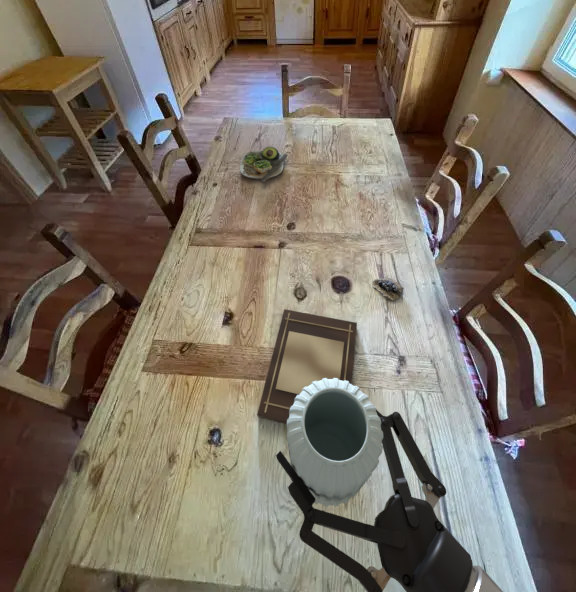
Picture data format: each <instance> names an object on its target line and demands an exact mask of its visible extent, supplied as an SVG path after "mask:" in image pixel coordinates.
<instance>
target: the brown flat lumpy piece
mask: <svg viewBox="0 0 576 592" xmlns="http://www.w3.org/2000/svg"><path fill="white" fill-rule="evenodd" d="M372 287H373V288H375V289H376V290H377V291H379V292H380V293H382V294H383V297H385V298H386V299H387V300H388V301H396V300H397V299H401V297H402V295H403V292H402V291H404V289H405V288H404V286H402V285H401V284H400V283H399V282H398V281H396V280H394V279H393V278H390V277H382V278H376V279H374V280H372Z"/></svg>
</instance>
